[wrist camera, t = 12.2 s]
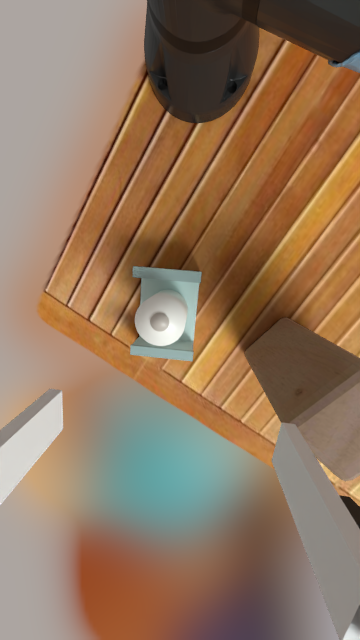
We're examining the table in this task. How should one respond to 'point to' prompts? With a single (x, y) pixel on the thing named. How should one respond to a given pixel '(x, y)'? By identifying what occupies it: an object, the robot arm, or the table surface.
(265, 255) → the table surface
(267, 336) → the wooden block
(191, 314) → the cradle
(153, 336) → the roll
